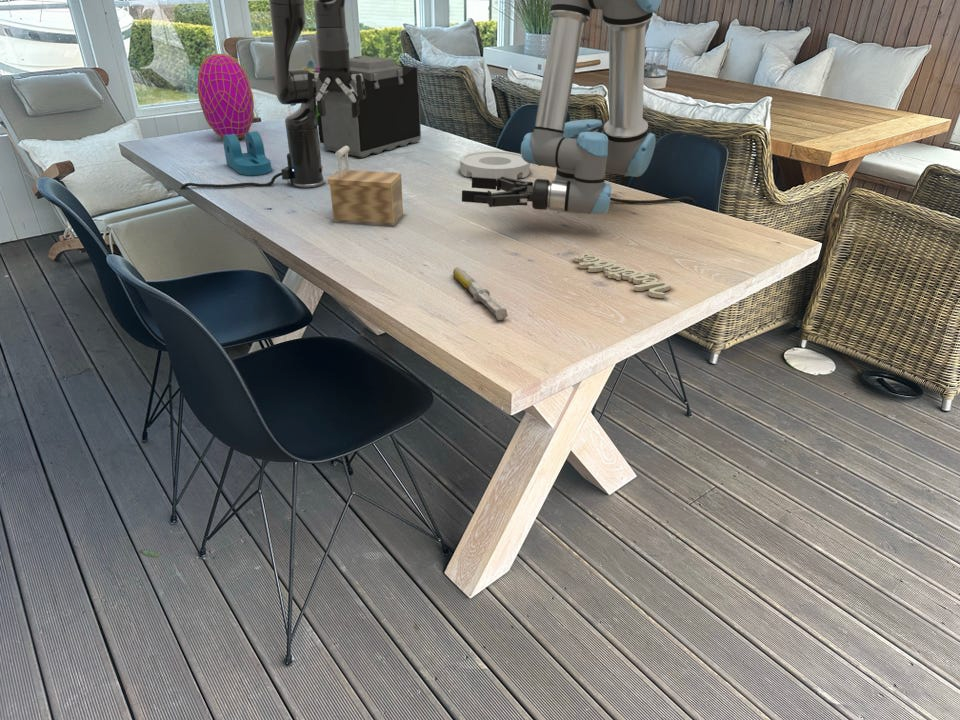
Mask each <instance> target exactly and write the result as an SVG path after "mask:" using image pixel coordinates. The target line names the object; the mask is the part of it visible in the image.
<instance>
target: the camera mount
mask: <svg viewBox="0 0 960 720" xmlns="http://www.w3.org/2000/svg"><path fill="white" fill-rule="evenodd" d="M244 137H245V146H246V152H243V151H242V150H243V149H242V146H241V142H240V140H239V139H238V138H237V136H236V135H235V134H230V135H224V137H223V138H222V140H223V141H222V143H223V149H224V150H223V151H224V156H225V161H226V165H227V166H228V167H230V168H231V169H232V170H234V171H236V172H237V173H238V174H239V175H244V176H260V175H265V174H268V173H271V172H272V164H271V159H270V158H268V157H267V156H266V153H265V145H264V141H263V139H262V136H261V134H260V132H258V131H248V132H247V133H246V135H245V136H244Z"/></svg>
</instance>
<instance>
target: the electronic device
mask: <svg viewBox="0 0 960 720" xmlns="http://www.w3.org/2000/svg"><path fill="white" fill-rule="evenodd" d="M349 58H350V71H351V73H352V74H360V73H362V74H363V76H364V84H365V92H366V98H365V99H363V100H360V101H359V111H360V113H359V115H358V117H357V118H353V117H352V107H351V103H352V101H351V99H350V98H349V97H348V96H347V95H346V94H345V92H344V91H343V92H337V91H334V92H330V91H328V92H327V93H326V95H325V97H324V98H323V100H325V110H326V115H325V116H320V115H319V116H318V117H317V120H318V124H317V127H318V137H319V144H323V146H324V149H325V150H327V151H330V152H335V153H336V152H337V151H338V150H340V149H341V148H343V147H344V146H348V147H349V152H348V156H353V157H357V158H362V159H363V158H366V157H367V158H368V157H369V155H371V154H375V155H377V154H381V153H382V152H383V151H391V150H395V149H396V148H397V147H405V146H407V145H408V144H416V143H418V142H419V141H421V137H422V128H421V97H420V92H419V91H420V89H419V68H418V67H417V66H408V65H400V64H396V62H395V60H394V59H393V58H385V57H377V56H367V55H356V56H353V57H349ZM314 72H315V73H319V72H320V71H314ZM322 85H323V83H322V82H321V80H320V79H319V78H318V81H316V89H317V93H319V90H320V88H321V87H322ZM350 85H351V86H352V87H353V89H354V90H355V93H356V94H357V95H358V91H357V84H356V83H355V82H354V80H353V79H352V81H351V82H350Z"/></svg>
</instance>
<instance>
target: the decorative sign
mask: <svg viewBox="0 0 960 720" xmlns="http://www.w3.org/2000/svg"><path fill="white" fill-rule="evenodd" d="M574 262H575V263H578V269H588V270H587V272H588V273H598V272H603V273H604V276H606V277H607V278H608V279H614V280H617V281H621V279H622V280H627V281H628V282H630V283H633V284H634V285H633V291H636V292H643V291H647V290H648V293H647V294H648V296H649V297H652V298H656V299H664V298H665V295H666V292H668V291H669V290H670V289H671V283H670V282H668V281H659V279H658V272H657V271H648V272H639V271H637V270H634V269H630V268H628V267H627V266H626V267H625V266H624V265H619V264H618V263H615V262H611V261H610V260H604V258H601V257H598V256H596V255H592V254H590V253H587V252H586V253H582V254H581V255H580V256H578V255H575V256H574Z"/></svg>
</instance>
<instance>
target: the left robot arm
mask: <svg viewBox="0 0 960 720" xmlns="http://www.w3.org/2000/svg"><path fill="white" fill-rule="evenodd" d="M268 2H269V3H268V4H269V14H270V15H269V16H270V22H271V30H272V31H271V33H272V40H273V41H272V43H273V71H274V73H273V74H274V75H273V76H274V89H275V94H276V98H277V100H278V102H279V103H280V104H281V105H298V104H299V105H300V106H299V108H298V109H297V110H296V111H294V112H293V113H292V114H289V115H287V116H286V117H285V120H284V123H285V131H286V138H287V146H288V153H287V154H286V161H287V166H286V167H283V168H281V170H280V171H281V172H278V173H276V174H275V175H274V176H273V177H272V178H271V180H270V181H269V182H266V183H260V182H259V183H258V182H239V183H229V184H213V183H197V182H186V183H184V184H182V186H180V187H179V190H184V189H185V188H187V187H197V188H215V189H216V188H217V189H219V188H223V189H224V188H225V189H226V188H237V187H247V186H250V187H251V186H252V187H270V186H272V185H273V184H274V183H275V181H276V179H277V178H279V177H281V179H282V180H285V181H286V180H287V181H289V184H290V186H294V187H296V188H300V189H301V188H303V189H310V188H317V187H320V186H322V185H324V184H325V182H324V175H323V171H324V169H323V165H322V157H321V147H320V139H319V130H318V124H317V109H318V113H319V114H320V116H325V115H326V110H325V100H323V98H324V97H325V95H326V93H327V92H328V91H330V92H334V91H337V92H343V91H344V92H345V94H346V95H347V96H348V97H349V98H350V99H351V101H352V103H351V107H352V117H353V118H357V117H358V115H359V113H360V111H359V101H360V100H363V99H365V98H366V92H365V84H364V76H363V74H362V73H360V74H352V73H351V71H350V58H351V57H350V42H349V37H348V36H349V35H348V32H347V24H346V23H347V22H346V10H345V8H346V0H315V2H314V5H313V8H314V9H313V10H314V18H315V19H314V20H315V30H316V31H315V38H316V51H317V59H318V60H317V61H318V66H319V68H320V72H319V73H315V72H314V71H312V72H310V71H309V70H307V69H308V68H307V69H302V68H299V69H290V59H291V55H292V52H293V50H294V47H295V45H296V43H297V42H298V39H299V38H300V35H301V34H302V31H303V29H304V27H305V24H306V6H305V0H268ZM318 78H319V79H320V80H321V82H322V83H323V85H322V87H321V88H320V90H319V93H317V89H316V81H318ZM352 79H353V80H354V82H355V83H356V84H357V91H358V95H357V94H356V93H355V90H354V89H353V87H352V86H351V85H350V82H351V81H352ZM316 105H317V108H316Z"/></svg>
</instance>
